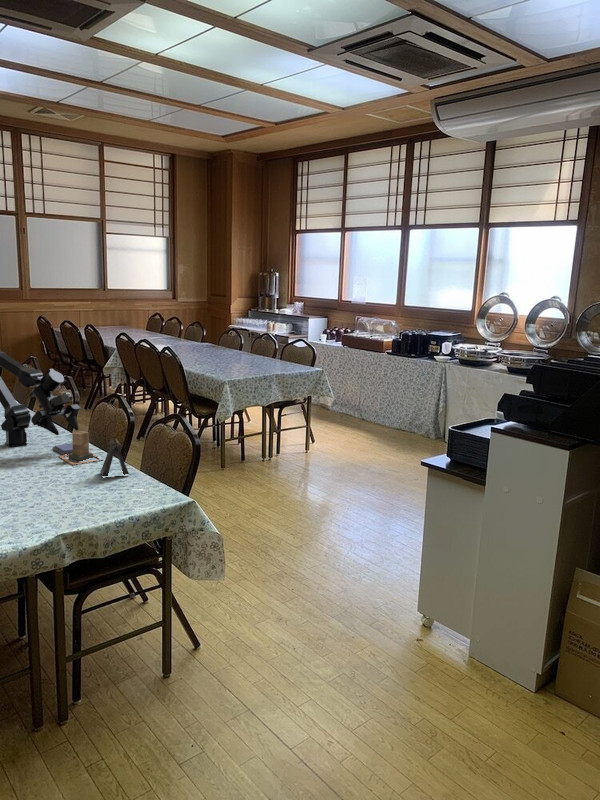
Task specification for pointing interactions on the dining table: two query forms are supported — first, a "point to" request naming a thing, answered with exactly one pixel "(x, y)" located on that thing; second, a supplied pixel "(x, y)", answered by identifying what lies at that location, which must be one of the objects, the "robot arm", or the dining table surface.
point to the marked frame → (75, 463)
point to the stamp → (80, 446)
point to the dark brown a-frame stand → (109, 458)
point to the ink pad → (64, 448)
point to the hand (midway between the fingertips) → (68, 432)
